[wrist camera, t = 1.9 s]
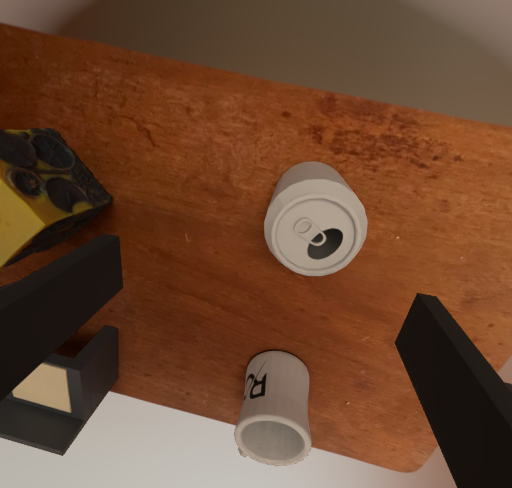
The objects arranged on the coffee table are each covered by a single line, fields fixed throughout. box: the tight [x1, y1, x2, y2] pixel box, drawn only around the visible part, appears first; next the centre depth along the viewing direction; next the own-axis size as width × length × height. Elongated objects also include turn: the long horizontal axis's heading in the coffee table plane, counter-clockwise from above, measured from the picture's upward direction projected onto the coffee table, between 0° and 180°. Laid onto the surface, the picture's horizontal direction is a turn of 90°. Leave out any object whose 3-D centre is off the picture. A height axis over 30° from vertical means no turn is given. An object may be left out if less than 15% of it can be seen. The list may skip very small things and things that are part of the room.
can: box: [264, 161, 368, 276], centre depth 24 cm, size 8×8×12 cm
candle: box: [0, 128, 112, 272], centre depth 29 cm, size 10×10×10 cm
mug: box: [234, 351, 311, 466], centre depth 37 cm, size 12×9×10 cm
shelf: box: [0, 325, 118, 456], centre depth 39 cm, size 20×11×12 cm, turn 78°
